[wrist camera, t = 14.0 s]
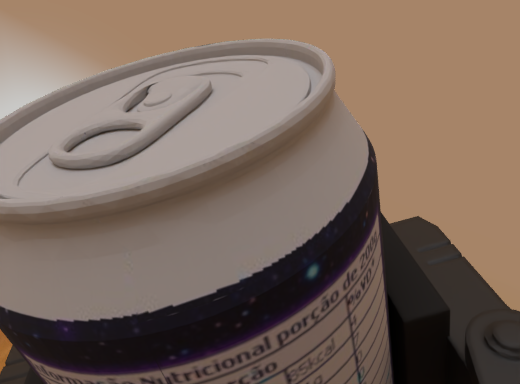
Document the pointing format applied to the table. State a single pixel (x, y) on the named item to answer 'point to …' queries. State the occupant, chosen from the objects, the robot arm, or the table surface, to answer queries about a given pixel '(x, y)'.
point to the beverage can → (195, 225)
